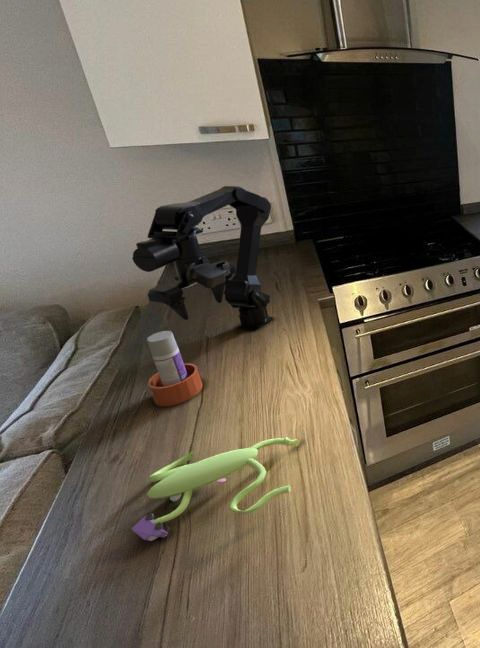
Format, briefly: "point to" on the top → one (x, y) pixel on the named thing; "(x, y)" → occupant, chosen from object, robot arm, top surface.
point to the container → (167, 358)
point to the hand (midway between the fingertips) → (203, 310)
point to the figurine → (205, 483)
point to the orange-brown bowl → (176, 388)
